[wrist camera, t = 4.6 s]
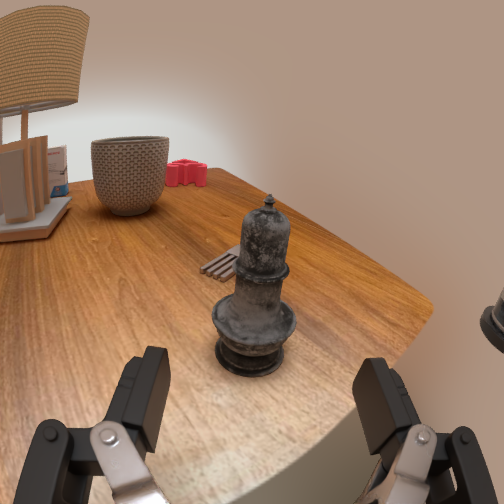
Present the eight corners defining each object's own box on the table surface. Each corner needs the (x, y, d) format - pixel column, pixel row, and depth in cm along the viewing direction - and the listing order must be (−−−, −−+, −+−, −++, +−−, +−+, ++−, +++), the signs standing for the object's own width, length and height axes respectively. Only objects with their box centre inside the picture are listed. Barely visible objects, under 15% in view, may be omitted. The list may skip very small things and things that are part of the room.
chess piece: (194, 349, 20) (195, 189, 15) (245, 317, 25) (261, 179, 19) (255, 393, 17) (285, 218, 12) (301, 350, 21) (338, 201, 16)
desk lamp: (10, 212, 42) (13, 49, 27) (88, 204, 49) (97, 32, 34) (-32, 253, 26) (-32, 30, 11) (65, 244, 33) (78, -5, 18)
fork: (273, 227, 46) (273, 222, 46) (291, 232, 45) (292, 228, 45) (199, 272, 31) (199, 267, 30) (223, 282, 29) (224, 276, 29)
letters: (166, 175, 77) (167, 158, 75) (201, 176, 80) (202, 159, 78) (165, 186, 65) (166, 166, 63) (207, 186, 68) (208, 166, 66)
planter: (172, 200, 55) (175, 135, 49) (159, 224, 42) (160, 140, 37) (109, 199, 53) (108, 137, 47) (81, 222, 40) (77, 144, 35)
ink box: (69, 190, 58) (67, 144, 53) (66, 196, 54) (63, 146, 49) (39, 195, 54) (36, 148, 49) (34, 200, 50) (31, 151, 45)
